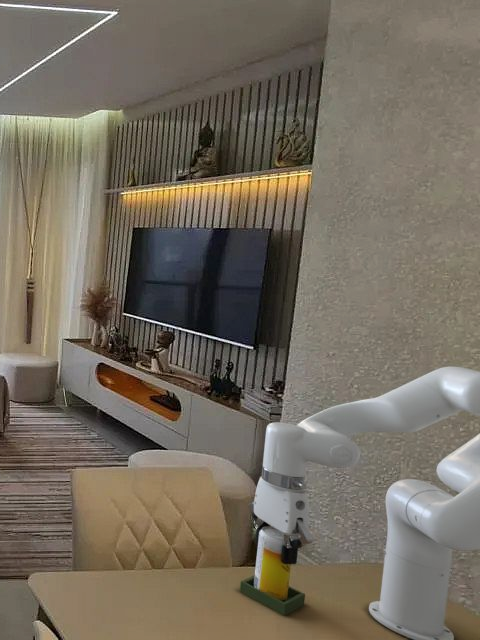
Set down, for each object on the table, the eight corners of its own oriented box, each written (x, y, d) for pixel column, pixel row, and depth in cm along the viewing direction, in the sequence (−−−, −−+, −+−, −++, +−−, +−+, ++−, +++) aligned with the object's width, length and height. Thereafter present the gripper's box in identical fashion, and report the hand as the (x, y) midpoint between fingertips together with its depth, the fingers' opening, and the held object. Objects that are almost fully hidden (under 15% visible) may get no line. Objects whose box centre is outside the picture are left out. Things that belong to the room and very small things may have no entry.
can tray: (259, 582, 129) (260, 572, 129) (304, 604, 121) (305, 593, 121) (239, 591, 125) (240, 581, 125) (284, 615, 117) (285, 604, 117)
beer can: (293, 605, 120) (300, 542, 119) (262, 601, 121) (269, 538, 120) (276, 587, 126) (283, 527, 125) (247, 583, 127) (254, 524, 126)
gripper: (335, 496, 113) (326, 577, 114) (265, 463, 130) (258, 534, 131) (302, 496, 113) (293, 577, 114) (236, 462, 130) (229, 533, 131)
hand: (275, 553), depth 123 cm, fingers closed on beer can, 6 cm apart
